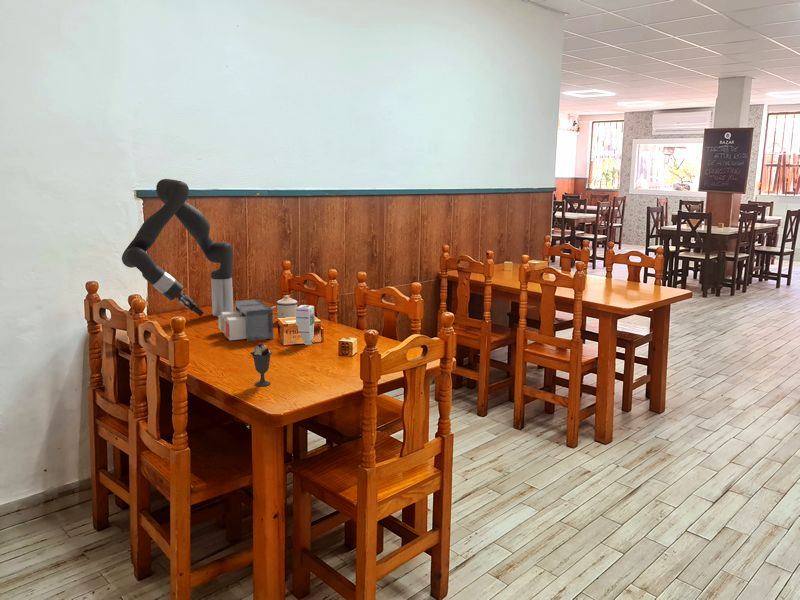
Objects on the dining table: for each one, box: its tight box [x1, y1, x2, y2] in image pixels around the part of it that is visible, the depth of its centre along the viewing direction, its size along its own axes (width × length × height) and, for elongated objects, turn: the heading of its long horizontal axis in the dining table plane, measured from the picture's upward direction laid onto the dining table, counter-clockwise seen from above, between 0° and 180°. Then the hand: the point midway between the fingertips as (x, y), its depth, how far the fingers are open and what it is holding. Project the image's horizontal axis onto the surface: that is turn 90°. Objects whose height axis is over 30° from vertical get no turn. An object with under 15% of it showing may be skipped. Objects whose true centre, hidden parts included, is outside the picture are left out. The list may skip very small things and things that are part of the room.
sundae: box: [249, 337, 273, 387], centre depth 200 cm, size 7×7×15 cm
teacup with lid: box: [270, 295, 299, 319], centre depth 284 cm, size 12×9×12 cm
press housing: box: [234, 298, 274, 342], centre depth 262 cm, size 23×10×12 cm, turn 25°
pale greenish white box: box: [217, 310, 240, 334], centre depth 264 cm, size 5×9×8 cm, turn 115°
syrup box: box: [295, 304, 316, 346], centre depth 249 cm, size 6×6×14 cm
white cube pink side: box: [223, 316, 247, 341], centre depth 255 cm, size 5×9×8 cm, turn 115°
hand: (202, 314), depth 259 cm, fingers closed
